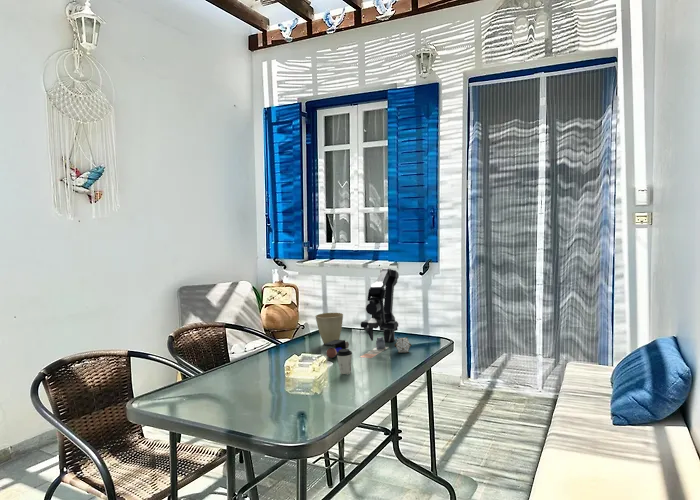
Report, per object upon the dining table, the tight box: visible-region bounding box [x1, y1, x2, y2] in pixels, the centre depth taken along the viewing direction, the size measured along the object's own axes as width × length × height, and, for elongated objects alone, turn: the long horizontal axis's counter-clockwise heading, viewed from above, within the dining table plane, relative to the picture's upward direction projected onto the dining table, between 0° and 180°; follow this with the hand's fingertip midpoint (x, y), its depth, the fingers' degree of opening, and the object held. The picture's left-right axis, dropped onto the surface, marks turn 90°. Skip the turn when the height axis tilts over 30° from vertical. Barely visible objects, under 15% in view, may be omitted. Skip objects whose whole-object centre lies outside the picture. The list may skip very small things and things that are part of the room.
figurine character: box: [322, 339, 350, 359], centre depth 247 cm, size 7×8×15 cm
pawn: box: [375, 336, 386, 350], centre depth 252 cm, size 4×4×6 cm
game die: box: [394, 336, 412, 354], centre depth 242 cm, size 9×8×10 cm
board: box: [359, 346, 389, 359], centre depth 246 cm, size 22×9×1 cm, turn 151°
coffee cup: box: [336, 348, 353, 375], centre depth 216 cm, size 7×7×10 cm
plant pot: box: [315, 312, 344, 344], centre depth 270 cm, size 15×15×16 cm
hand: (380, 341), depth 252 cm, fingers open, 9 cm apart
